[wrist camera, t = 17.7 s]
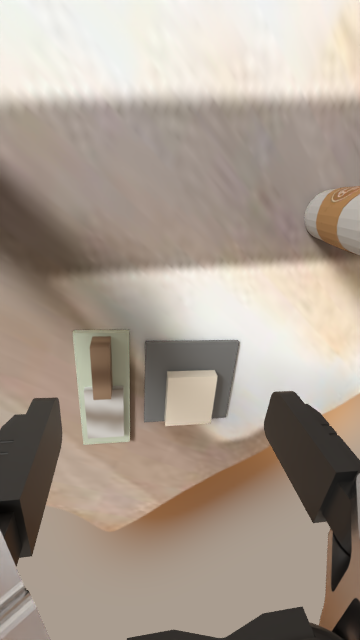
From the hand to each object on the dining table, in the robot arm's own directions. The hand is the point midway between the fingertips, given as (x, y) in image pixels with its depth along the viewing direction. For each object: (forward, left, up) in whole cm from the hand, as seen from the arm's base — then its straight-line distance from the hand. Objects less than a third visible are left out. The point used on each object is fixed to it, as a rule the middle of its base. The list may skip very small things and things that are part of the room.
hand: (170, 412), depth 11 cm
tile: (+8, -19, -29) cm, 36 cm away
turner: (-6, -22, -30) cm, 38 cm away
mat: (+8, -22, -31) cm, 39 cm away
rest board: (-6, -23, -31) cm, 39 cm away
